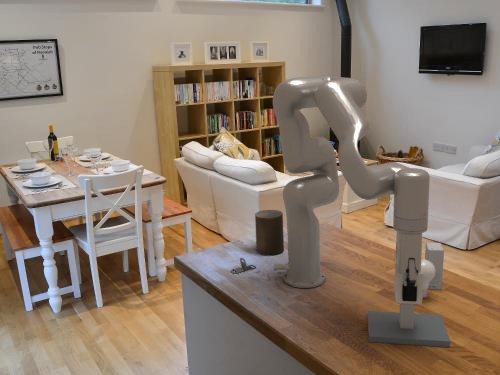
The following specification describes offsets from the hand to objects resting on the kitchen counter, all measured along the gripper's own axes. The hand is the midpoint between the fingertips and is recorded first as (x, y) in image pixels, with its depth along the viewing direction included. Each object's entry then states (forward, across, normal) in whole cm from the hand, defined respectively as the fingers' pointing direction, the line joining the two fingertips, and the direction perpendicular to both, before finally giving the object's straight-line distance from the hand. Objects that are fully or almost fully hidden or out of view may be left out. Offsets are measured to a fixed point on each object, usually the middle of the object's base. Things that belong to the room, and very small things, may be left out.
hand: (407, 293), depth 118 cm
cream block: (+1, 0, 0) cm, 1 cm away
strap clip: (+10, -31, -47) cm, 57 cm away
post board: (+10, 0, 0) cm, 10 cm away
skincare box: (+10, -26, +10) cm, 30 cm away
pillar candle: (+10, -48, -41) cm, 64 cm away
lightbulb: (+10, -18, +6) cm, 22 cm away
